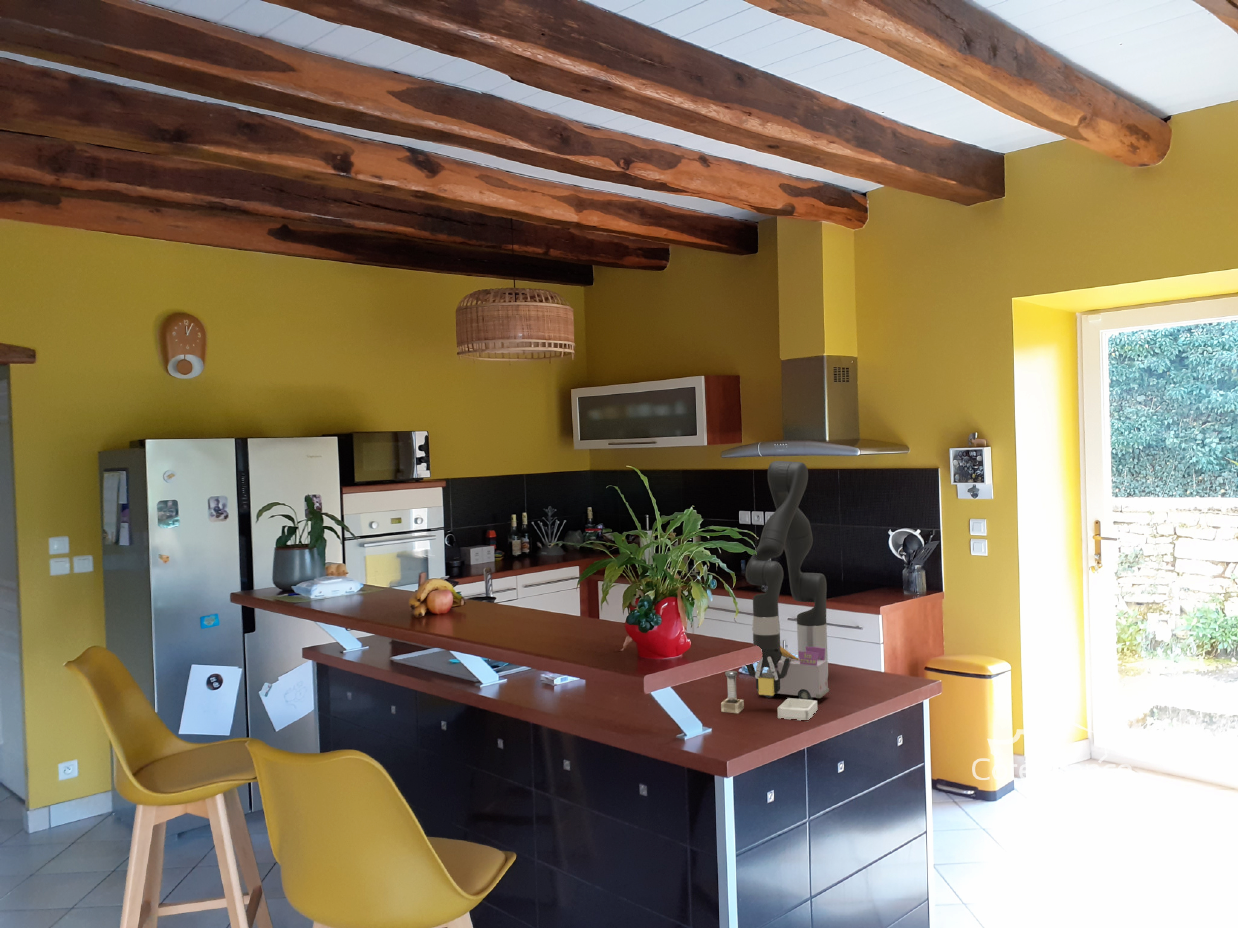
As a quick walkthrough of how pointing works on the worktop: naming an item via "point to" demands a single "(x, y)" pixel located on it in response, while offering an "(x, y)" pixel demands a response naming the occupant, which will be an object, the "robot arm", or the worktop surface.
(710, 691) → the worktop surface
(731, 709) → the holder
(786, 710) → the tray
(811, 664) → the toy vehicle
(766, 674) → the block
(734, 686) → the pin
